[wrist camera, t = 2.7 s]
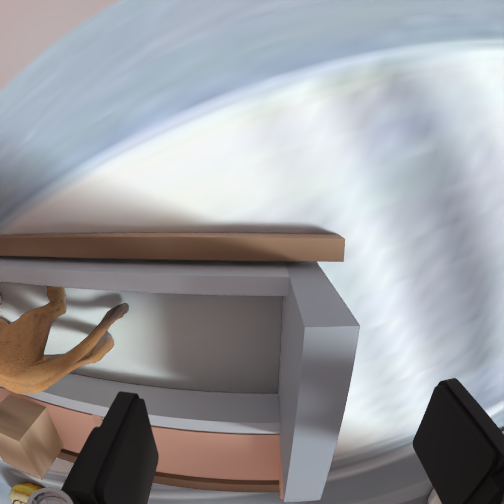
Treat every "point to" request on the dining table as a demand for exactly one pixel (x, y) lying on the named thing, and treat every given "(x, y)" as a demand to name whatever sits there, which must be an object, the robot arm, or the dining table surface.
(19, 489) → the decorated donut
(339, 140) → the dining table surface
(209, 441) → the broken strip
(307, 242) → the lane rails
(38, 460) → the cube
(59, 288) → the lion figurine
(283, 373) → the grey long open box
